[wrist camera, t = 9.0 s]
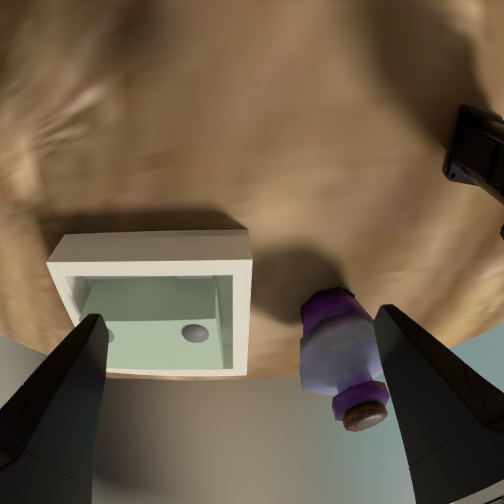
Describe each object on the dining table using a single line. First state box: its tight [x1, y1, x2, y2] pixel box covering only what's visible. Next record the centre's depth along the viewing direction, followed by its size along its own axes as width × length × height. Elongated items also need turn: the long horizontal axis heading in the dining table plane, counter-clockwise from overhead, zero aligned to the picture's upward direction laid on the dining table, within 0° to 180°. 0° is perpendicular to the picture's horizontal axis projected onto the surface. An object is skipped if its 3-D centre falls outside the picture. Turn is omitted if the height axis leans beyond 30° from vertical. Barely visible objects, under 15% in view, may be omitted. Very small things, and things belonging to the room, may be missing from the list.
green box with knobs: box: [79, 275, 223, 370], centre depth 22 cm, size 10×6×5 cm, turn 91°
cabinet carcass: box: [46, 229, 253, 376], centre depth 23 cm, size 14×13×4 cm
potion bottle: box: [300, 287, 390, 432], centre depth 23 cm, size 9×9×12 cm
